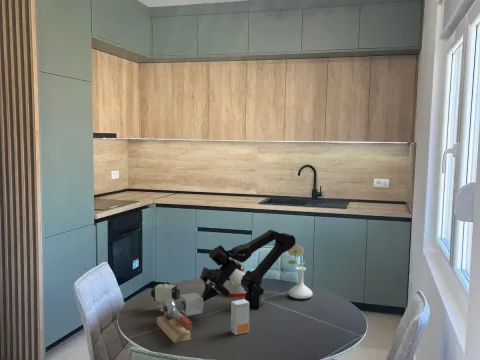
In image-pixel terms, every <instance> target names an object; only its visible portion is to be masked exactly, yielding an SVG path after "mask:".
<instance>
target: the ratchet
mask: <svg viewBox="0 0 480 360" xmlns="http://www.w3.org/2000/svg"><path fill="white" fill-rule="evenodd" d="M183 309H185V303H184V302H180V301H178V302H176V301H175V300H174V299H173V298H168V299H164V301H163V310H164V312H163V314H164V316H165V317H166V318H172V317H174V318H175V319H176V320H177V321H179V322H180V325H182V326H183V327H184V328H185V329H186V330H187V331H188V330H189V331H191V330H193V322H192V320H191V319H189V318H188V316H186V315H184V314H183V313H181V311H180V310H183Z"/></svg>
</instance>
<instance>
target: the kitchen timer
mask: <svg viewBox="0 0 480 360" xmlns="http://www.w3.org/2000/svg"><path fill="white" fill-rule="evenodd" d="M237 263H239V264H241V263H240V262H238V261H237ZM242 266H243V264H241V267H242ZM244 269H245V267H243V268H241V271H240V270H238V269H236V270H235V271H234V272H233V273H232V275H231V276H230V277H229V279H230V280H229V281H228V280H227V281H226V282H225V283H224V285H223V286H224V287H226V288H227V289H228V290H229V291H230V294H229V296H228V297H231V298H243V296H244V297H245V296H246V291H244V288H243V287H242V286H241V279H242V278H243V277H242V276H244V275H245V273H246V272H244Z"/></svg>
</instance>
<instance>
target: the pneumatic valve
mask: <svg viewBox="0 0 480 360" xmlns="http://www.w3.org/2000/svg"><path fill="white" fill-rule="evenodd" d="M180 295H181V290H180V288H178V285H177V284H176V285H175V284H167V283H163V284H162V283H158V284H156V285H154V286H153V287H152V288H151V291H150V296H151V298H152V299H153V302H160V304H159V306H158V308H159V311H160V312H161V313H162V312H163V313H164V310H163V301H164V299H168V298H173V299H174V300H175V302H176V301H177V300H180Z"/></svg>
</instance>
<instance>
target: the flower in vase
mask: <svg viewBox="0 0 480 360" xmlns="http://www.w3.org/2000/svg"><path fill="white" fill-rule="evenodd" d="M287 253H288V254H289V255H290V256H292V257H294V260H292V259H291V260H289V261H288V262H287V264H290V265H293V266H294V265H297V267H295V270H296V272H297V275H298V276H297V277H298V278H297V280H298V281H297V283H296V284H295V286H293V287H291V288H290V289H289V290H288V295H289V296H290V297H292V298H294V299H299V300H300V299H301V300H302V299H303V300H305V299H309V298H312V296H313V291H312V290H311V288H309V287H307V286H306V285H305V284H304V273H305V271H306V270H307V268H306V267H305V266H303V265H305V264H306V262H307V260H305V261H301V262H300V263H298V262H297V258H300V257H301V256H303V255H304V253H305V250H304V247H303V246H301V245H299V244H296V243H295V245H294V246H293V247H292V248H291V249H290V250H288V251H287Z"/></svg>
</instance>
